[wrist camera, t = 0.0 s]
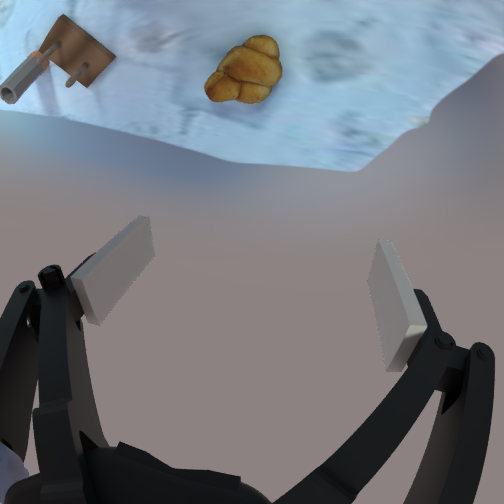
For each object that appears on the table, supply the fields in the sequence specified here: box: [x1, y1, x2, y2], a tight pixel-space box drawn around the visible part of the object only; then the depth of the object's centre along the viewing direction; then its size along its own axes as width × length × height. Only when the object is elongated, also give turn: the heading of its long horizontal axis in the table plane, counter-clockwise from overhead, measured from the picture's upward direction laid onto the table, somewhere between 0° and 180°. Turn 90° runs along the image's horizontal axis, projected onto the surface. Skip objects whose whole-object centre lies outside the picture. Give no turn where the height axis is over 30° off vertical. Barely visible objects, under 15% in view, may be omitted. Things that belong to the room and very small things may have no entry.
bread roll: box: [204, 35, 282, 104], centre depth 37 cm, size 13×10×8 cm
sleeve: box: [0, 51, 49, 104], centre depth 33 cm, size 5×5×11 cm
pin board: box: [36, 14, 116, 88], centre depth 33 cm, size 15×10×8 cm, turn 34°
